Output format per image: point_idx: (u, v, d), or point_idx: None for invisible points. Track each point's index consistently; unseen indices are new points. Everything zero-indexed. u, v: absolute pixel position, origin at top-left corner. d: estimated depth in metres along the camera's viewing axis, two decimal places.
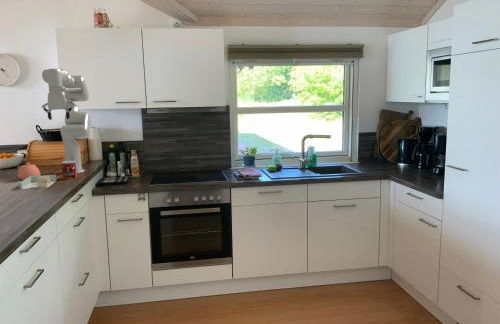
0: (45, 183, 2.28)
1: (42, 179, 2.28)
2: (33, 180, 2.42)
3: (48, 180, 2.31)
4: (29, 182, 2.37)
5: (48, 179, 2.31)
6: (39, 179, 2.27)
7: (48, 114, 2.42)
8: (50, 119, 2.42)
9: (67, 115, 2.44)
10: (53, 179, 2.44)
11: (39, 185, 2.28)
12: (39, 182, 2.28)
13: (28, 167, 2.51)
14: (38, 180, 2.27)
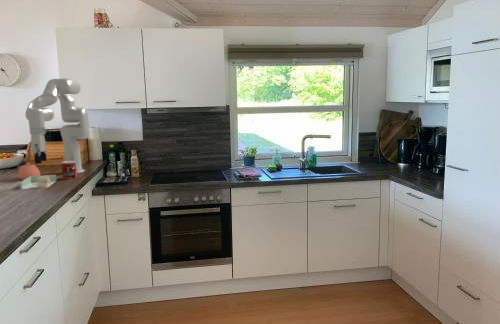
0: (45, 183, 2.28)
1: (42, 179, 2.28)
2: (33, 180, 2.42)
3: (48, 180, 2.31)
4: (29, 182, 2.37)
5: (48, 179, 2.31)
6: (39, 179, 2.27)
7: (38, 157, 2.22)
8: (41, 162, 2.24)
9: None
10: (53, 179, 2.44)
11: (39, 185, 2.28)
12: (39, 182, 2.28)
13: (28, 167, 2.51)
14: (38, 180, 2.27)
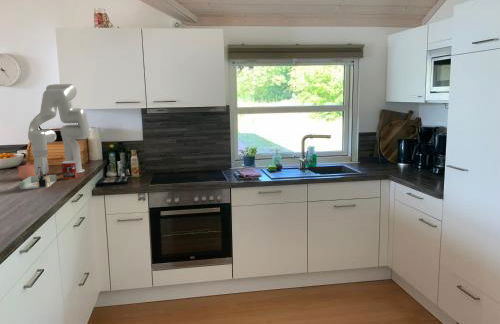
0: None
1: None
2: (33, 180, 2.42)
3: (48, 180, 2.31)
4: (29, 182, 2.37)
5: (48, 179, 2.31)
6: None
7: (43, 181, 2.27)
8: None
9: None
10: (53, 179, 2.44)
11: None
12: None
13: (28, 167, 2.51)
14: (38, 180, 2.27)
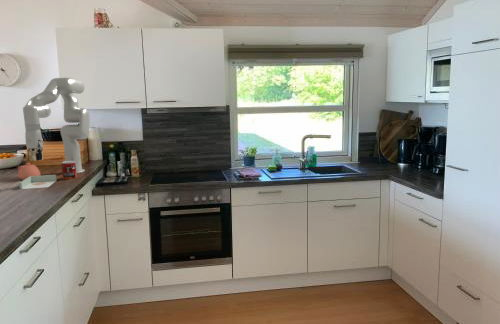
0: None
1: None
2: (33, 180, 2.42)
3: None
4: (29, 182, 2.37)
5: None
6: None
7: (40, 154, 2.33)
8: None
9: None
10: (53, 179, 2.44)
11: None
12: None
13: (28, 167, 2.51)
14: (35, 154, 2.31)
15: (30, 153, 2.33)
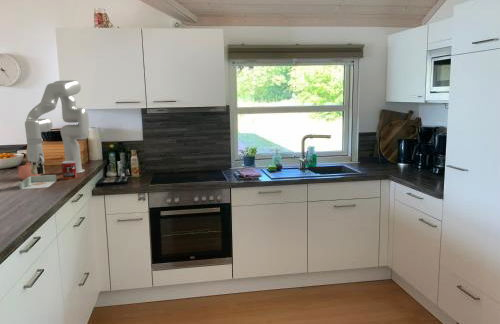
0: (43, 170, 2.36)
1: None
2: (33, 180, 2.42)
3: None
4: (29, 182, 2.37)
5: None
6: (37, 166, 2.33)
7: (41, 168, 2.34)
8: (42, 173, 2.35)
9: None
10: (53, 179, 2.44)
11: (37, 172, 2.33)
12: None
13: (28, 167, 2.51)
14: (36, 168, 2.32)
15: (31, 167, 2.34)
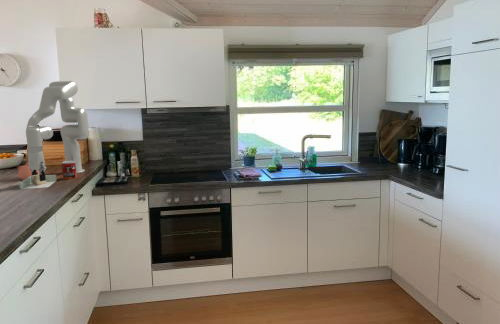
0: None
1: None
2: None
3: None
4: (29, 182, 2.37)
5: None
6: (38, 176, 2.34)
7: None
8: (44, 179, 2.36)
9: None
10: (53, 179, 2.44)
11: (38, 182, 2.34)
12: (38, 179, 2.34)
13: (28, 167, 2.51)
14: (38, 178, 2.34)
15: (33, 177, 2.35)
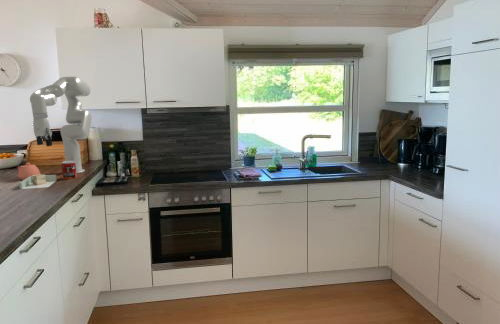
0: (44, 180, 2.37)
1: (41, 176, 2.35)
2: None
3: None
4: (29, 182, 2.37)
5: None
6: (38, 176, 2.34)
7: None
8: None
9: None
10: (53, 179, 2.44)
11: (38, 182, 2.34)
12: (38, 179, 2.34)
13: (28, 167, 2.51)
14: (38, 178, 2.34)
15: (33, 177, 2.35)
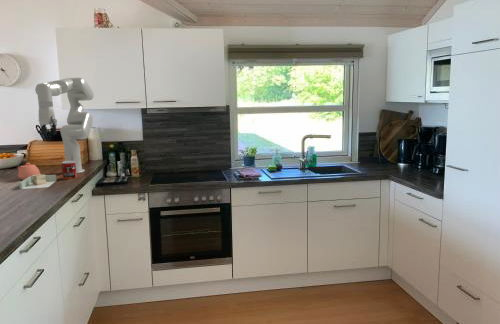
0: (44, 180, 2.37)
1: (41, 176, 2.35)
2: None
3: None
4: (29, 182, 2.37)
5: None
6: (38, 176, 2.34)
7: (55, 129, 2.40)
8: (55, 133, 2.42)
9: None
10: (53, 179, 2.44)
11: (38, 182, 2.34)
12: (38, 179, 2.34)
13: (28, 167, 2.51)
14: (38, 178, 2.34)
15: (33, 177, 2.35)
